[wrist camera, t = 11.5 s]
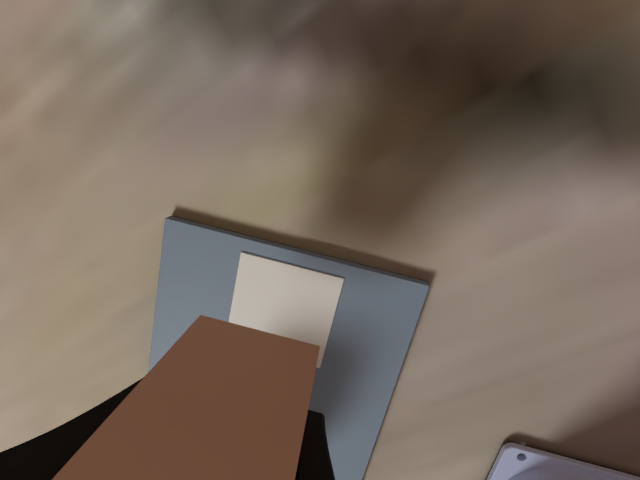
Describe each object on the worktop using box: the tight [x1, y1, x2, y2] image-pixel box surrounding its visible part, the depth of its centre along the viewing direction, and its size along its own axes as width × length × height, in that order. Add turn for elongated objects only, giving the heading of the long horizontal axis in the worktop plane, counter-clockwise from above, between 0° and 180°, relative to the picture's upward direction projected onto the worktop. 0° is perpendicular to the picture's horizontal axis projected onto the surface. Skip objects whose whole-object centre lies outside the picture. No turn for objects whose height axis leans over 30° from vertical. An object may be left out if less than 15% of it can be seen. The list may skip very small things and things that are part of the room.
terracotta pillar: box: [52, 315, 320, 480], centre depth 10 cm, size 4×4×7 cm
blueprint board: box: [148, 216, 430, 480], centre depth 21 cm, size 14×16×1 cm
